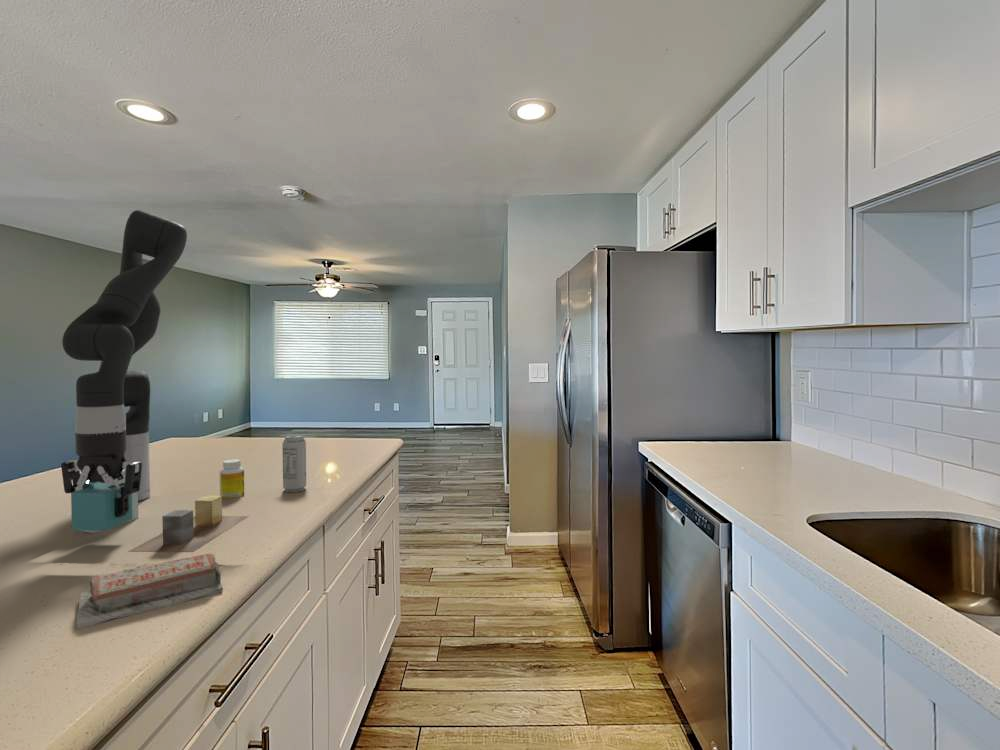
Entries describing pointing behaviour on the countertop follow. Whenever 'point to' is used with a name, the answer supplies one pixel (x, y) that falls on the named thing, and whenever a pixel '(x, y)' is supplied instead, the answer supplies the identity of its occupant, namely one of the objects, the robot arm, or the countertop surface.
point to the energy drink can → (294, 463)
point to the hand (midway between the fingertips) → (103, 515)
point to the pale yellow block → (208, 511)
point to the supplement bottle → (232, 479)
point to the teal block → (96, 509)
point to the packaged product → (148, 588)
